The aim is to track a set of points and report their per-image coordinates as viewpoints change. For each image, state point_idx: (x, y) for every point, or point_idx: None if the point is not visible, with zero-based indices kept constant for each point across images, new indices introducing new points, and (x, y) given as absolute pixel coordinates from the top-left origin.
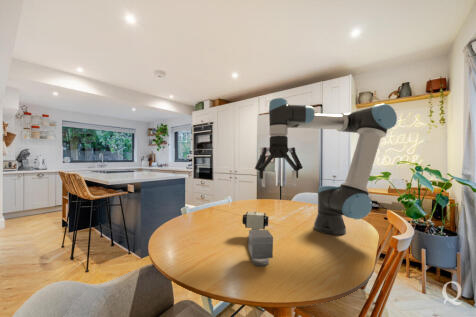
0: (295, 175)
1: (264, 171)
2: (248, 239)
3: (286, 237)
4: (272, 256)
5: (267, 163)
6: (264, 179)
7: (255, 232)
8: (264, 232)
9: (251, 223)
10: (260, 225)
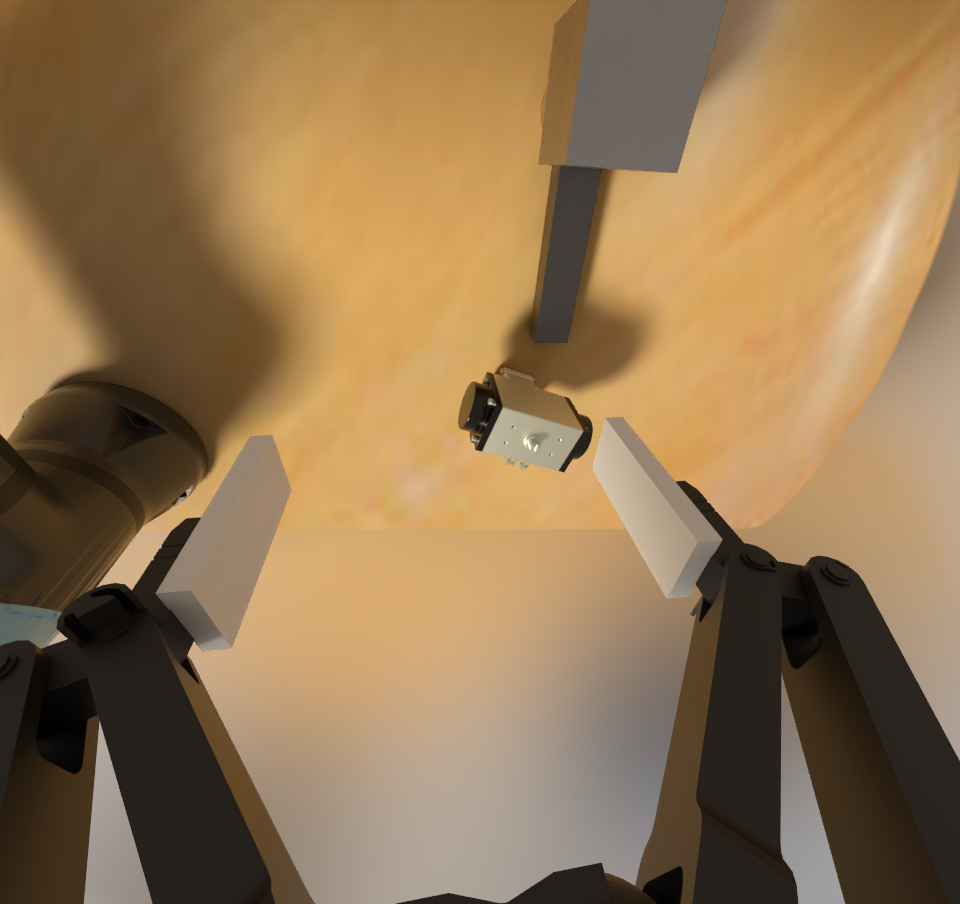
0: (209, 527)
1: (703, 540)
2: (568, 323)
3: (373, 371)
4: (558, 21)
5: (736, 672)
6: (647, 466)
7: (660, 116)
8: (606, 107)
9: (549, 401)
10: (508, 385)
